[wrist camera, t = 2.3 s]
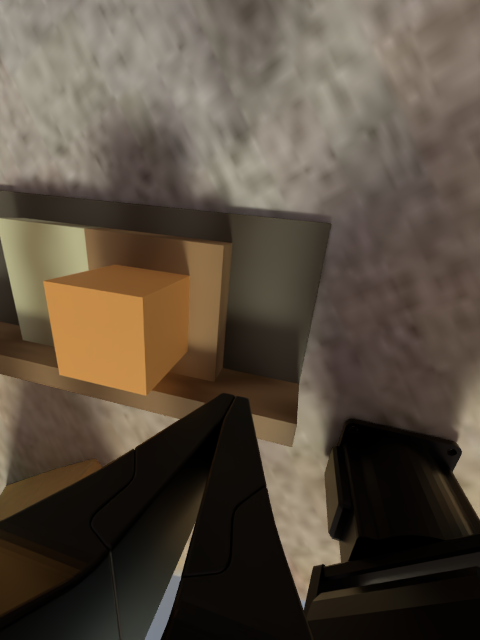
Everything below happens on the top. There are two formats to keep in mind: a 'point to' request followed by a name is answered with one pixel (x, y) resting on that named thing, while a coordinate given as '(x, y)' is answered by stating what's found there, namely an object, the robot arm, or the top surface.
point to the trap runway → (204, 297)
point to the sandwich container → (42, 486)
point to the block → (119, 325)
